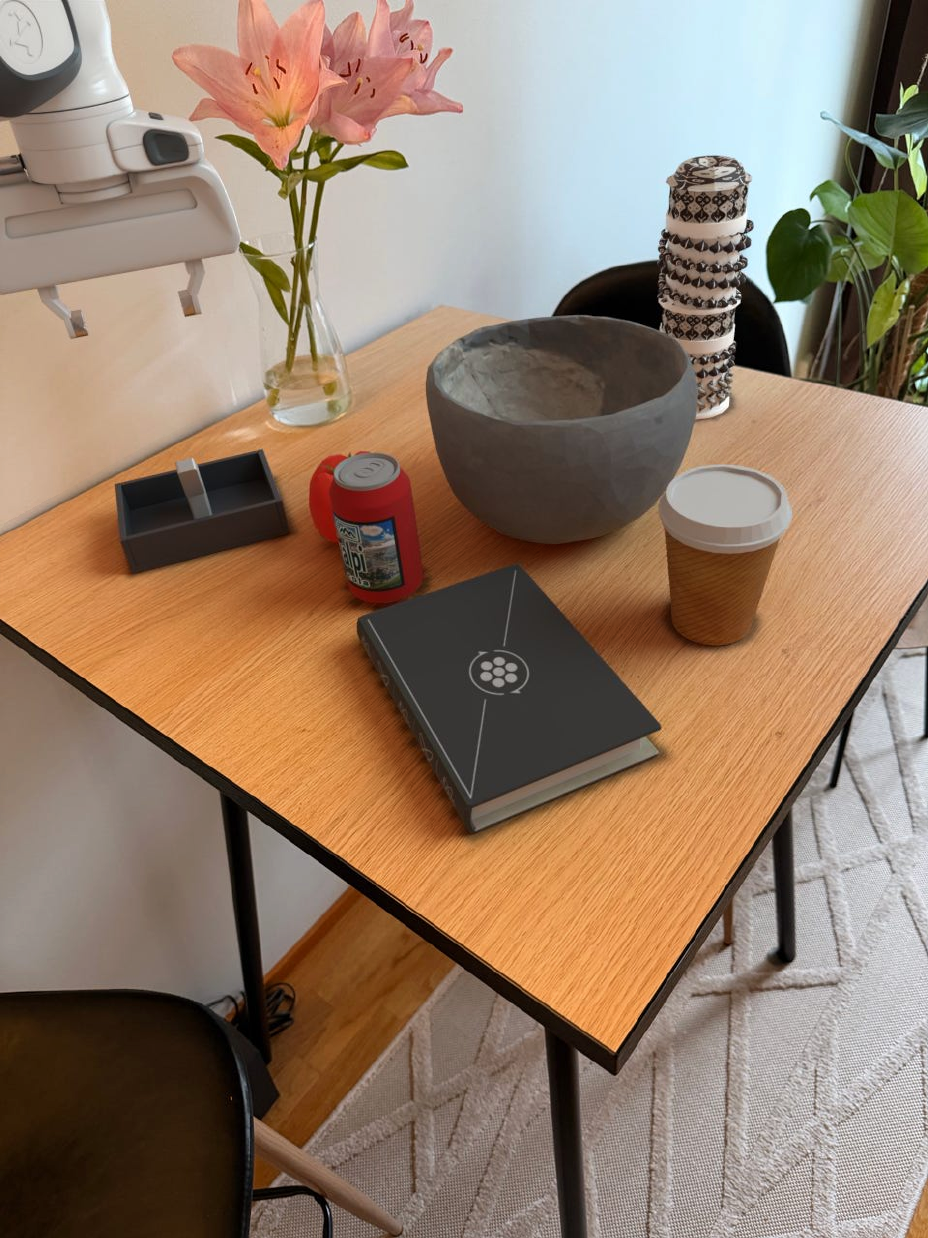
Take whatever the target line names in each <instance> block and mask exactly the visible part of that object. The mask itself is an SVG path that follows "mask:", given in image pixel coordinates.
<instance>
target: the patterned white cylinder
mask: <svg viewBox="0 0 928 1238" xmlns="http://www.w3.org/2000/svg"><path fill="white" fill-rule="evenodd" d="M752 181H753V176H752V175H751V174H750V173H748V172H747V171H746V170H745V168H744V165H743V164H742V162H740V160H738V159H736V158H735V157H731V156H727V155H701V156H695V157H691V158H688V159H687V160H686V159H685V160H684V161H683V162H681V163H680V164H679V165H678V167H677V168H676V170H675V172H674V173H673V174H671V175H669V176H668V177H667V178H666V181H665V183H666V184H667V185H668V186H669V194H668V209H666V214H665V228H664V229H662V230H661V231H660V236H661V238H660V239H659V241H658V244H659V245H658V246H657V251H658V253H659V255H658V261H657V267H658V268H660V269H659V270H660V273H659V274H658V279H659V280H658V281H657V287H659V289H658V294H657V299H658V303H659V304H660V306H661V307H662V311H661V312H662V313H661V318H662V320H661V321H662V322H660V326H659V331H661V332H664V333H667V334H668V335H670V336H672V337H673V338H675V339H676V340H677V341H678V342H679V343H680V344H681V345H682V347H683V348H684V350H685V351H686V353H687V354H688V356H689V358H690V360H691V363H692V365H693V368H694V370H695V375H696V381H697V388H698V401H697V412H696V418H695V421H697V420H702V419H703V420H704V419H710V418H713V417H716V416H719V415H721V414H724V412H725V411H726V410H727V409H728V408H729V406H730V397H731V395H732V391H731V390H732V388H733V386H732V385H731V384H732V383H733V381H734V380H733V378H732V377H734V372H733V371H732V370H731V368H733V367H734V366H735V359H736V357H735V355H734V354H735V353H736V351H737V349H736V347H737V342H736V341H735V340H734V337H735V328H736V324H735V315H736V314H735V313H736V308H737V307H738V306H739V305H740V304H741V300H743V296H742V292H740V290H738V287H739V286H741V285H743V284H745V283H746V282H747V281H746V279H747V278H746V277H747V276H746V274H745V273H743V272H742V270H744V269H746V268H747V267H748V264H749V262H748V261H749V260H748V258H747V257H746V256H744V255H743V254H741V252H742V251H745V250H747V249H749V248H750V247H751V246H752V238H751V237H750V236H748V235H747V234H748V233H750V232H752V231H753V230H754V228H755V226H754V221H753V220H751V219H748V210H749V208H747V207H748V206H747V205H748V196H749V187H750V183H751V182H752ZM666 246H667V247H666Z"/></svg>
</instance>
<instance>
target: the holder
mask: <svg viewBox="0 0 928 1238" xmlns="http://www.w3.org/2000/svg"><path fill="white" fill-rule="evenodd" d="M196 464H197V465H198V468H199V472H200V475H201V478H202V481H203V484H204V488H205V491H206V494H207V497H208V501H209V505H210V509H211V513H212V515H210V516H206V517H202V518H198V519H194V517H193V513H192V510H191V507H190V504H189V501H188V498H187V497H186V495H185V492H184V489H183V487H182V484H181V481H180V479H179V476H178V473H177V469H176V468H175V469H171V470H168V471H163V472H159V473H156V474H150V475H147V476H142V477H139V478H135V479H134V478H133V479H130V480H125V481H121V482H118V483H114V494H115V502H116V503H115V505H116V514H117V525H118V537H119V543H120V545H121V548H122V550H123V553H124V555H125V558H126V560H127V564H128V565H129V569H130V571H131V574H133V575H134V574H138V573H142V572H146V571H149V570H154V569H157V568H161V567H165V566H169V565H172V564H178V563H180V562H185V561H188V560H192V559H197V558H199V557H204V556H207V555H211V554H216V553H219V552H224V551H227V550H231V549H235V548H238V547H242V546H247V545H250V544H254V543H257V542H261V541H266V540H269V539H270V540H271V539H273V538H278V537H280V536H286V535H288V534H289V535H290V534H291V530H290V526H289V522H288V517H287V514H286V509H285V506H284V501H283V498H282V496H281V493H280V490H279V488H278V485H277V483H276V481H275V478H274V475H273V471H272V469H271V467H270V464H269V461H268V459H267V456H266V454H265V451H264V449H263V448H261V449H255V450H252V451H248V452H244V453H240V454H235V455H230V456H227V457H222V458H218V459H214V460H211V461H206V462H202V463H196Z"/></svg>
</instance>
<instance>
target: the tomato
mask: <svg viewBox="0 0 928 1238" xmlns="http://www.w3.org/2000/svg"><path fill="white" fill-rule="evenodd" d="M363 453H372V452H371V451H369V450H368V451H365V450H359V451H358V452H355V454H354V455H353V456H355V455H358V454H363ZM349 457H352V453H351V452H349V453H348V455H344V454H342V453H338V454H330V455H328V456H327V457H325V458H324V459H322V461H321V462H320V463H319V464H318V465H317V467H316V469H315V470H314V472H313V474H312V476H311V478H310V481H309V491H308V492H309V494H308V507H309V512H310V515H311V518H312V521H313V525H314V527H315V528H316V529H317V531H318V532H319V534H320V536H322V537H323V538H324V539H325V540H327V541H328V542H330V543H336V544H339V541H338V536H337V531H336V526H335V521H334V517H333V511H332V506H331V501H330V496H329V489H330V485H331V483H332V480H333V477H334V470H335V468H336V467H337V465H338V464H339V463H341V462H342V461H343V460H345V459H347V458H349Z"/></svg>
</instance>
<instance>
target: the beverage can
mask: <svg viewBox="0 0 928 1238" xmlns="http://www.w3.org/2000/svg"><path fill="white" fill-rule="evenodd" d="M354 455H355V454H354ZM354 455H351V457H349V458H347V459H345V460H343V461H342V462H341V463H339V464H338V465H337V467H336V468H335V470H334V477H333V480H332V483H331V485H330V489H329V496H330V501H331V506H332V511H333V517H334V521H335V526H336V531H337V536H338V541H339V543H338V545H339V550H340V555H341V560H342V564H343V568H344V573H345V577H346V581H347V586H348V589H349V591H350V593H351V594H352V595H353V596H354V597H355V598H357V599H359V600H361V601H364V602H368V603H371V604H372V603H373V604H389V603H395V602H397V601H400V600H402V599H405V598H407V597H409V596H410V595H412V594H413V593H414V592H416V591H417V590H418V589H419V587H420V586H421V584H422V582H423V579H424V570H423V561H422V553H421V547H420V538H419V532H418V525H417V517H416V511H415V504H414V498H413V491H412V483H411V479H410V476H408V474H407V473H406V471H405V470H404V469H403V468H402V467H401V465H400V463H399V461H398V460H397V458H396V457H394V456H392V455H390V454H387V453H383V452H371V453H363V454H358V455H355V456H354Z"/></svg>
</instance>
